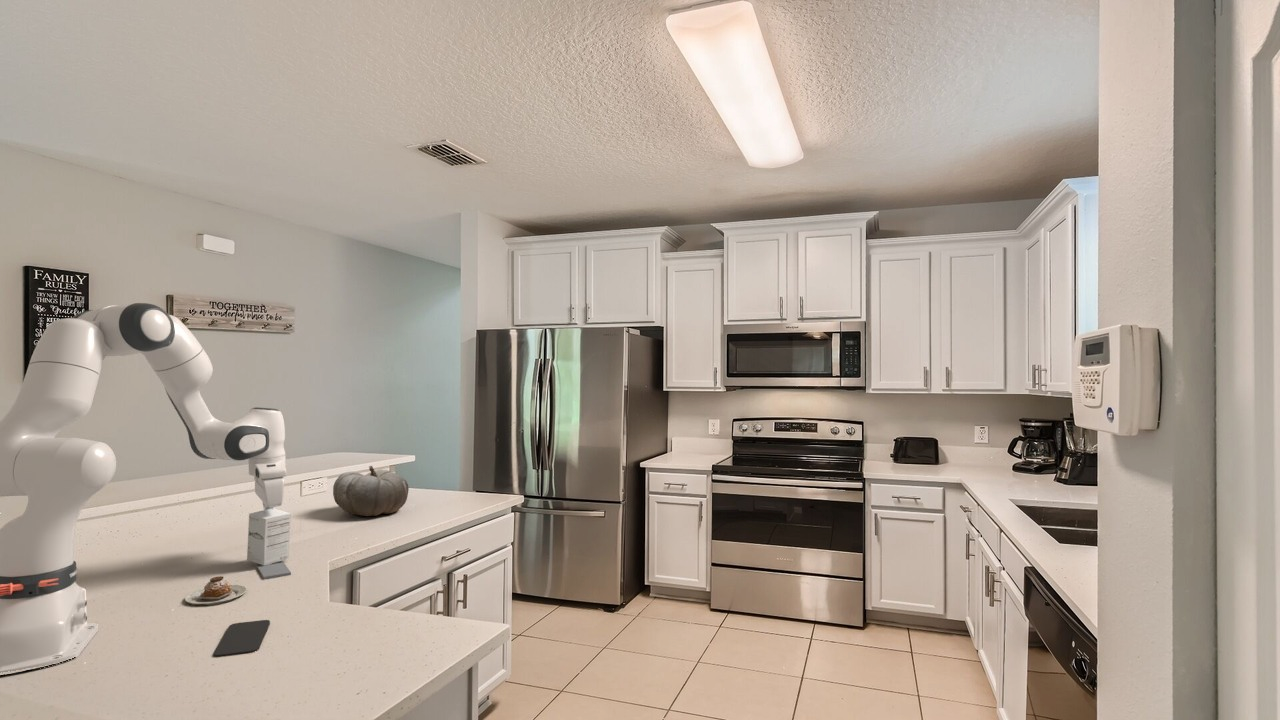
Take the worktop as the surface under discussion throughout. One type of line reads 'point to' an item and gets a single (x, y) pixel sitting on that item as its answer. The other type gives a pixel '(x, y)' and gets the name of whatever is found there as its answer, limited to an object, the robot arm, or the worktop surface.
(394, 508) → the gourd
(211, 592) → the pastry
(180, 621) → the worktop surface
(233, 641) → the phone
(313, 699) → the worktop surface
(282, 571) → the slate mat
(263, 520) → the supplement box
